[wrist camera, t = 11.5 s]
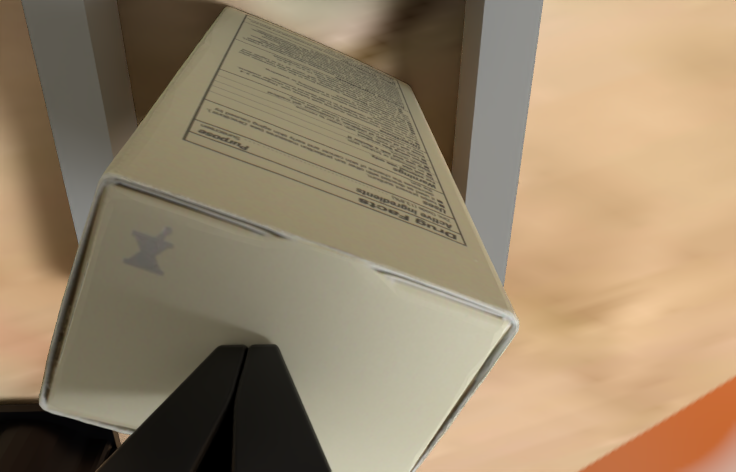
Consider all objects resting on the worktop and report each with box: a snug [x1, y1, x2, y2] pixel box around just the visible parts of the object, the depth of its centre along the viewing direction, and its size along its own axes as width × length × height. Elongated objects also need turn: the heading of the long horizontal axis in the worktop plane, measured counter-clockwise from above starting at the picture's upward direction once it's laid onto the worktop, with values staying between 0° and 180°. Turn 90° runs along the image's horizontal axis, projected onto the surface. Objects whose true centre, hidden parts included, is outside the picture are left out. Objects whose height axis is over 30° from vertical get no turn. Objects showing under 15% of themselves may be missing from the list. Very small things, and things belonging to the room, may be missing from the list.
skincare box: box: [39, 7, 519, 472], centre depth 14 cm, size 6×4×12 cm
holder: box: [21, 0, 543, 288], centre depth 19 cm, size 13×13×2 cm
